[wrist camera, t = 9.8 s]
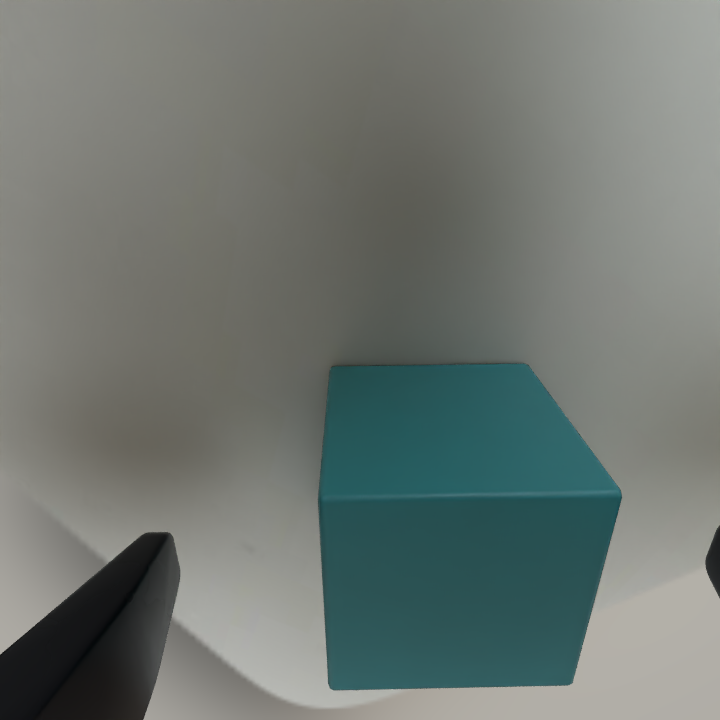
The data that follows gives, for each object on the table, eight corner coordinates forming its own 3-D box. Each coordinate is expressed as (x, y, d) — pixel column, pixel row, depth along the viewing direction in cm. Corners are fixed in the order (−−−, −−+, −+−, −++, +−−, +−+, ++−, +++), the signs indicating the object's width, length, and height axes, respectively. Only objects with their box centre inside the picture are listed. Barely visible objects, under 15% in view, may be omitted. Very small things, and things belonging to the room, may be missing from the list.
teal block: (335, 518, 12) (328, 693, 8) (329, 364, 10) (317, 499, 6) (505, 515, 12) (573, 688, 8) (528, 361, 10) (626, 493, 6)
